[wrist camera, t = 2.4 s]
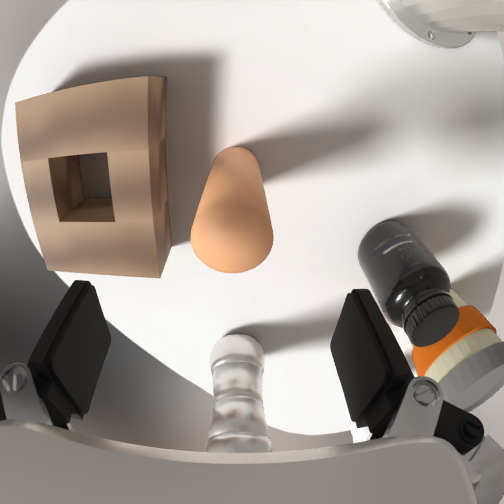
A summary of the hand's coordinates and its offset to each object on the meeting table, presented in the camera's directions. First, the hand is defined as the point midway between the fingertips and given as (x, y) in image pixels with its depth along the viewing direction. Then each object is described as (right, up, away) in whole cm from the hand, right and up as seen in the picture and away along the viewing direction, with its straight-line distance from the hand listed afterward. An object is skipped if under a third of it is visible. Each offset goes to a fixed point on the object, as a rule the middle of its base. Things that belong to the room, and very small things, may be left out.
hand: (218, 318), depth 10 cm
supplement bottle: (+15, +3, +19) cm, 24 cm away
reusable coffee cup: (+27, -6, +25) cm, 37 cm away
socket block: (-12, +10, +13) cm, 20 cm away
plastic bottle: (-1, -9, +26) cm, 27 cm away
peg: (0, +9, +14) cm, 17 cm away
